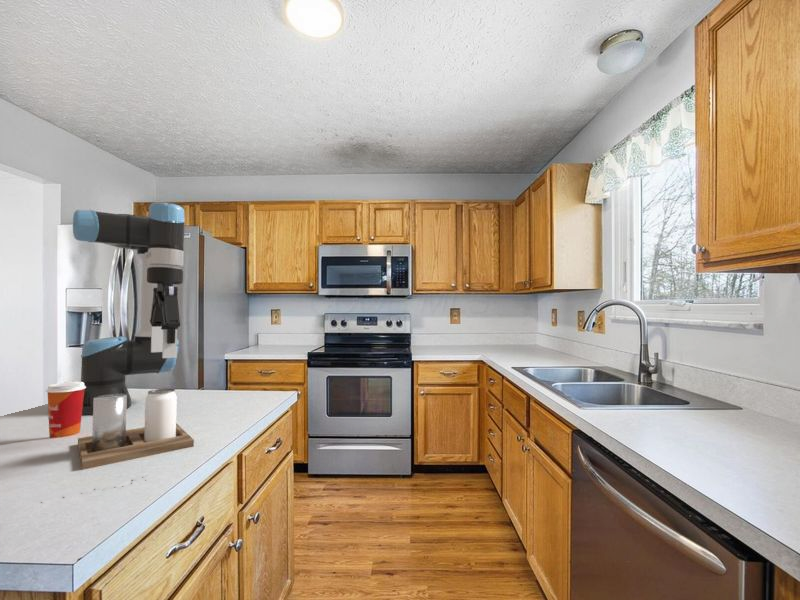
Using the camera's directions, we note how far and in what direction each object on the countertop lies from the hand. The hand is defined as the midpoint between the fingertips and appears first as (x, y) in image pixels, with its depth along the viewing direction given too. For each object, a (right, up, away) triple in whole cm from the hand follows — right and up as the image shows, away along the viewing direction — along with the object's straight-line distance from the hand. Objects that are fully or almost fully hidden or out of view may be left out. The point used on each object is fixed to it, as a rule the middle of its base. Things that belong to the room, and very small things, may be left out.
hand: (163, 354), depth 93 cm
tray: (-4, -22, -4) cm, 23 cm away
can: (0, -21, 0) cm, 21 cm away
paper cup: (-27, -22, +3) cm, 35 cm away
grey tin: (-8, -20, -7) cm, 23 cm away
